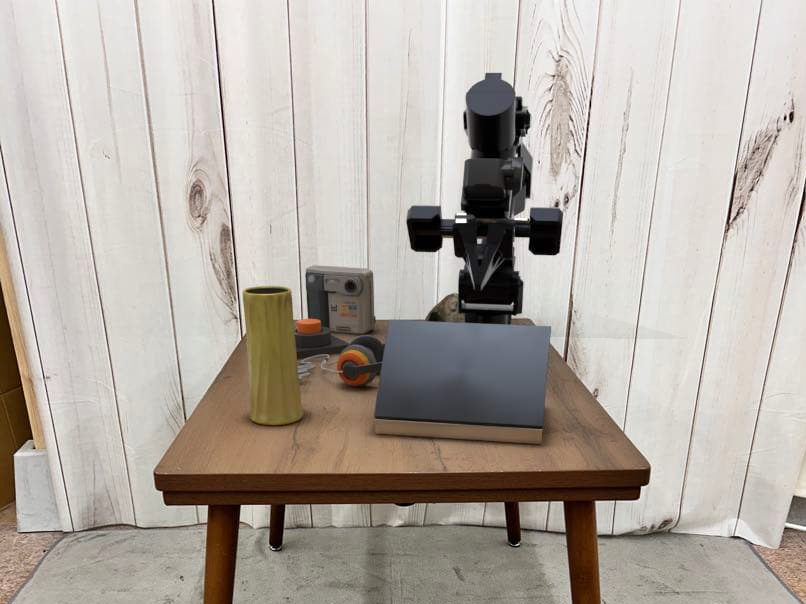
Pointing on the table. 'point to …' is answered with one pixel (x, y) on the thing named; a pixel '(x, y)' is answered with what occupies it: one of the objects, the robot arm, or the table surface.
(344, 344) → the dock
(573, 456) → the table surface
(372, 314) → the camera
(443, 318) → the fossilized seashell
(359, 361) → the headphones
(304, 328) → the power button
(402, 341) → the black flat panel
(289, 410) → the vase
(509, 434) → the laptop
